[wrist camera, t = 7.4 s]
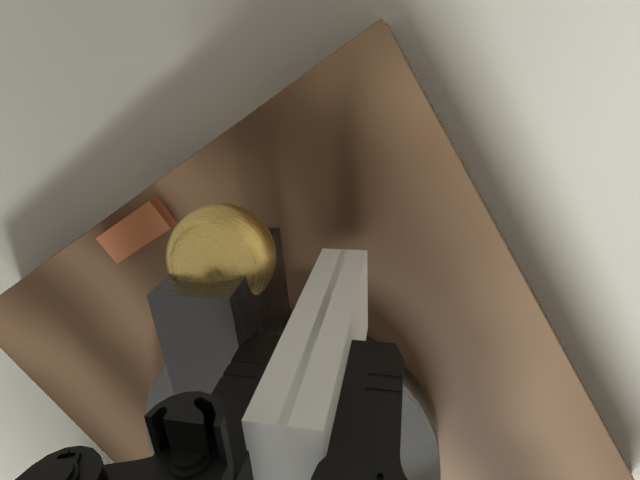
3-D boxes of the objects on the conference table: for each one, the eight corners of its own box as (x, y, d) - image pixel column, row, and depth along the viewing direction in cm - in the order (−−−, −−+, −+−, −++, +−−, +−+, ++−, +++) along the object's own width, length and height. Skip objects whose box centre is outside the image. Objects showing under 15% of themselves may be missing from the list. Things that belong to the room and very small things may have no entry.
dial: (433, 536, 20) (444, 747, 14) (193, 501, 22) (114, 668, 16) (451, 162, 13) (489, 266, 7) (97, 173, 15) (-106, 255, 9)
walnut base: (271, 552, 28) (254, 615, 25) (22, 284, 23) (-41, 323, 19) (632, 475, 20) (673, 554, 17) (386, 23, 14) (380, 17, 11)
